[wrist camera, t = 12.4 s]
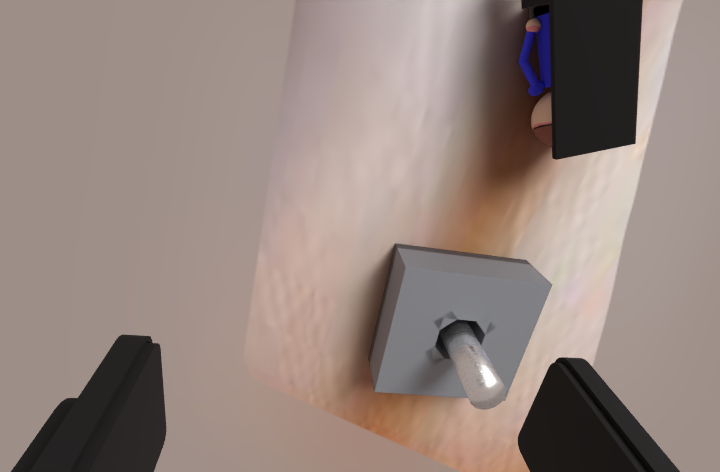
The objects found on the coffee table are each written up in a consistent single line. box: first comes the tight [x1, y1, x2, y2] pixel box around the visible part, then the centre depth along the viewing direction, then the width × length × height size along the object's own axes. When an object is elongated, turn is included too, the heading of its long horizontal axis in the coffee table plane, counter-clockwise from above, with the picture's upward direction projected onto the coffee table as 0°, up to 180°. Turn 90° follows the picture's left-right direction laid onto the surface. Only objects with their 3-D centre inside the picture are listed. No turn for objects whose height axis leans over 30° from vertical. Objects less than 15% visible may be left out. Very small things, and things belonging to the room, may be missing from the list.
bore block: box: [369, 244, 552, 401], centre depth 41 cm, size 14×14×5 cm
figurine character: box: [518, 0, 643, 160], centre depth 31 cm, size 7×8×15 cm
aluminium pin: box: [439, 319, 506, 409], centre depth 37 cm, size 3×3×11 cm
